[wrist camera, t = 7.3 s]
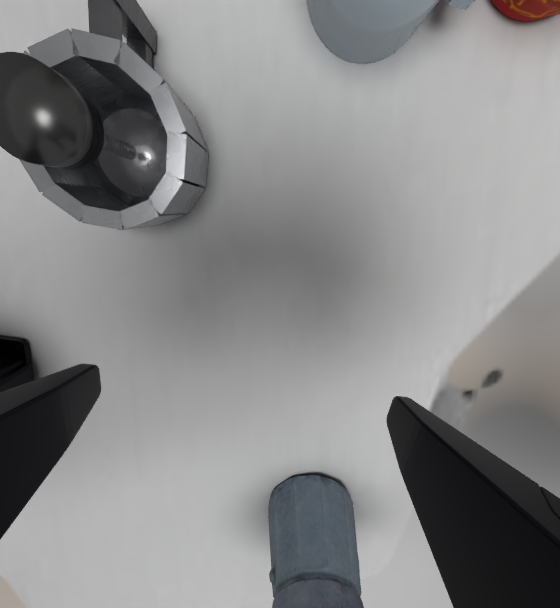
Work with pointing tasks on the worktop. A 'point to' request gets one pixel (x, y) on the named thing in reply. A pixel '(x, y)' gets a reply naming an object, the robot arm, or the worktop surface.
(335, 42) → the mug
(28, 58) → the plunger
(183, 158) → the press carafe
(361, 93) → the worktop surface
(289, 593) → the moka pot
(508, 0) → the canned food
